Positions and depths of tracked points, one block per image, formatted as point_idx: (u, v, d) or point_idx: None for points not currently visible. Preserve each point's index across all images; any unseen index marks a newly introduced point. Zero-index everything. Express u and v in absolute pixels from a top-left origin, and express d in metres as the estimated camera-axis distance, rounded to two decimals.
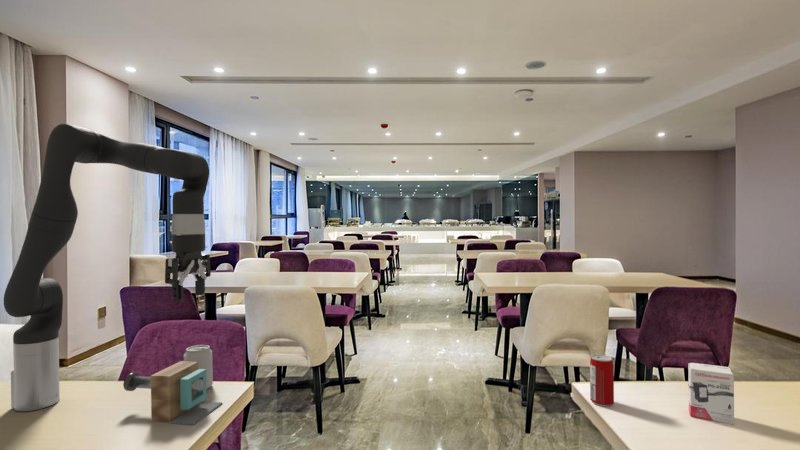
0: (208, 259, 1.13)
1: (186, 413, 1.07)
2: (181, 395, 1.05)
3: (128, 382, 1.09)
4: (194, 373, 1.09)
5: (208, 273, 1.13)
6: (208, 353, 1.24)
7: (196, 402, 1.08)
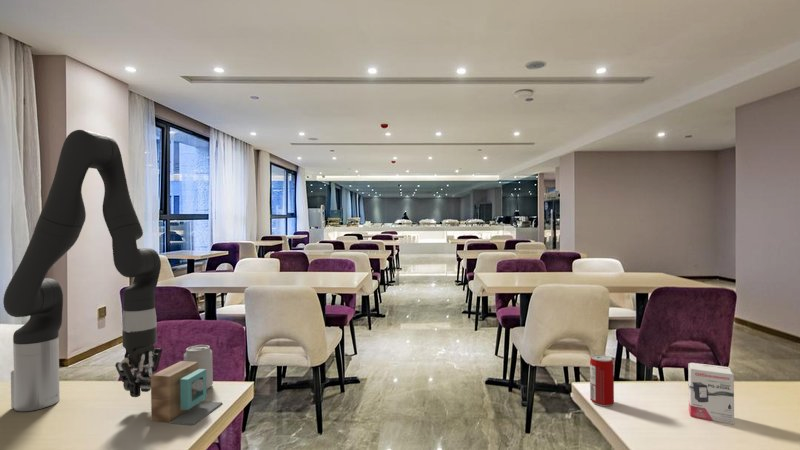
0: (159, 353, 1.16)
1: (186, 413, 1.07)
2: (181, 395, 1.05)
3: (128, 382, 1.09)
4: (194, 373, 1.09)
5: (154, 368, 1.14)
6: (208, 353, 1.24)
7: (196, 402, 1.08)
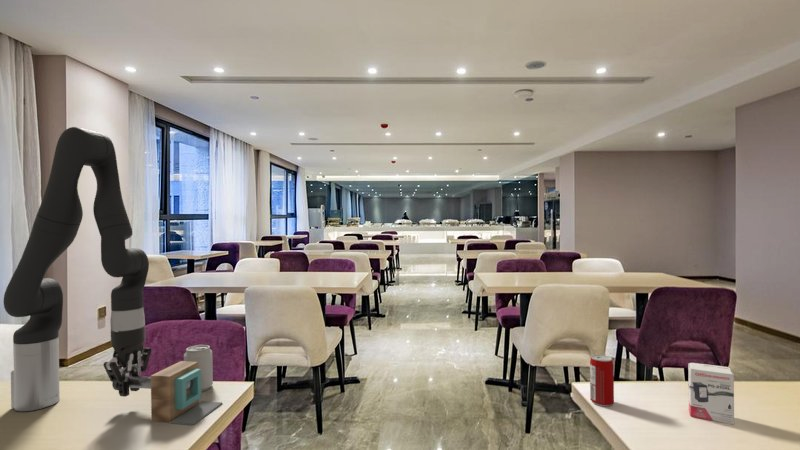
0: (149, 353, 1.17)
1: (186, 413, 1.07)
2: (175, 395, 1.05)
3: None
4: (188, 373, 1.09)
5: (143, 368, 1.15)
6: (208, 353, 1.24)
7: (191, 402, 1.08)
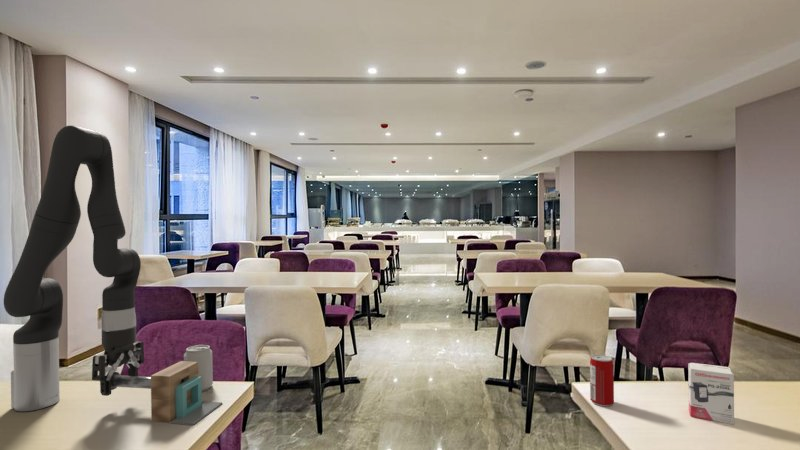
0: (141, 346, 1.18)
1: None
2: (176, 403, 1.05)
3: None
4: (189, 381, 1.09)
5: (141, 360, 1.18)
6: (208, 353, 1.24)
7: (191, 410, 1.08)
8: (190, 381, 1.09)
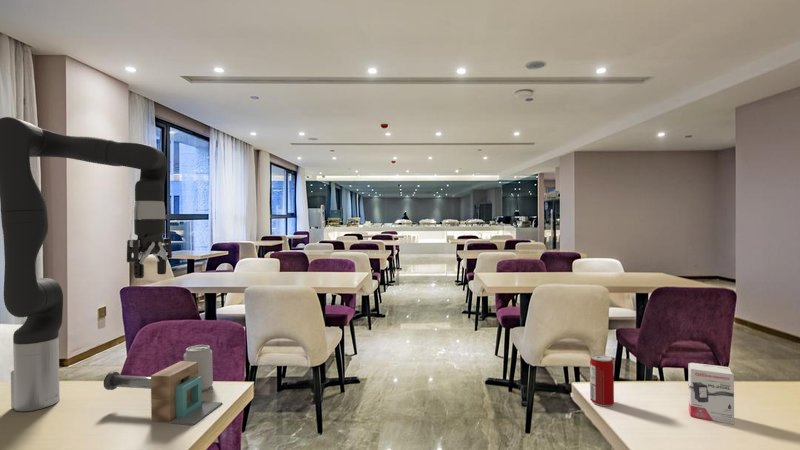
0: (169, 242, 1.26)
1: None
2: (176, 403, 1.05)
3: (108, 381, 1.10)
4: (189, 381, 1.09)
5: (169, 255, 1.26)
6: (208, 353, 1.24)
7: (191, 410, 1.08)
8: (190, 381, 1.09)
